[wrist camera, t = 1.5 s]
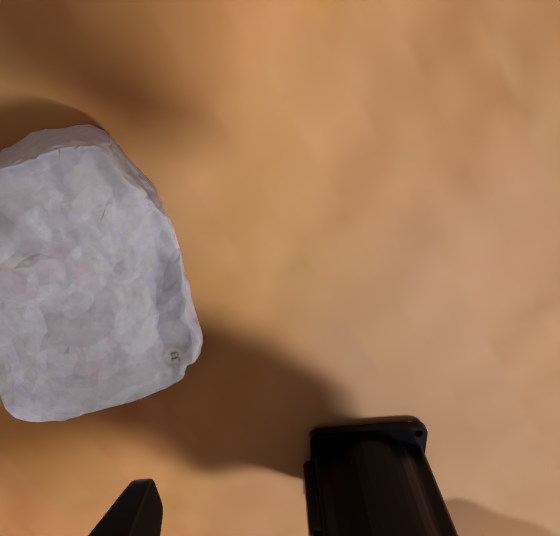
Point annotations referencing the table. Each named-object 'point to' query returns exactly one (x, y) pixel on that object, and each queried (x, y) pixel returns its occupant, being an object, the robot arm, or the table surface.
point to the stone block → (86, 279)
